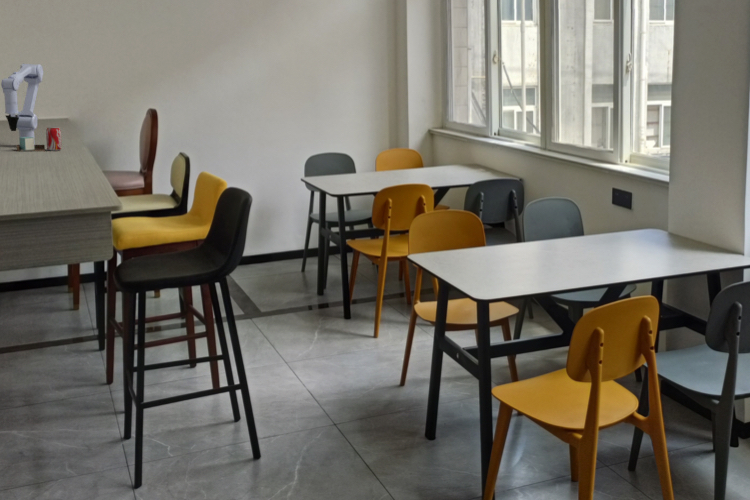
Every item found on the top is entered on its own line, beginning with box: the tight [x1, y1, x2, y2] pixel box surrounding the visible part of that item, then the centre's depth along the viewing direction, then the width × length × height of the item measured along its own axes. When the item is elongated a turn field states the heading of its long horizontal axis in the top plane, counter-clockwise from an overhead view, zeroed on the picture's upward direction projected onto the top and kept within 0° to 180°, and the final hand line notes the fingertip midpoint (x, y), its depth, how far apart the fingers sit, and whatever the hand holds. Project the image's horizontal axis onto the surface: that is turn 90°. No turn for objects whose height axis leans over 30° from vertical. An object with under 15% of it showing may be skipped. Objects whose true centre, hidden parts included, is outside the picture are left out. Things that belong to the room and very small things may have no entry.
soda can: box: [45, 125, 63, 152], centre depth 392 cm, size 7×7×12 cm
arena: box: [15, 144, 46, 152], centre depth 389 cm, size 8×13×2 cm, turn 113°
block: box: [18, 137, 35, 150], centre depth 387 cm, size 5×5×6 cm
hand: (13, 130), depth 386 cm, fingers open, 7 cm apart
